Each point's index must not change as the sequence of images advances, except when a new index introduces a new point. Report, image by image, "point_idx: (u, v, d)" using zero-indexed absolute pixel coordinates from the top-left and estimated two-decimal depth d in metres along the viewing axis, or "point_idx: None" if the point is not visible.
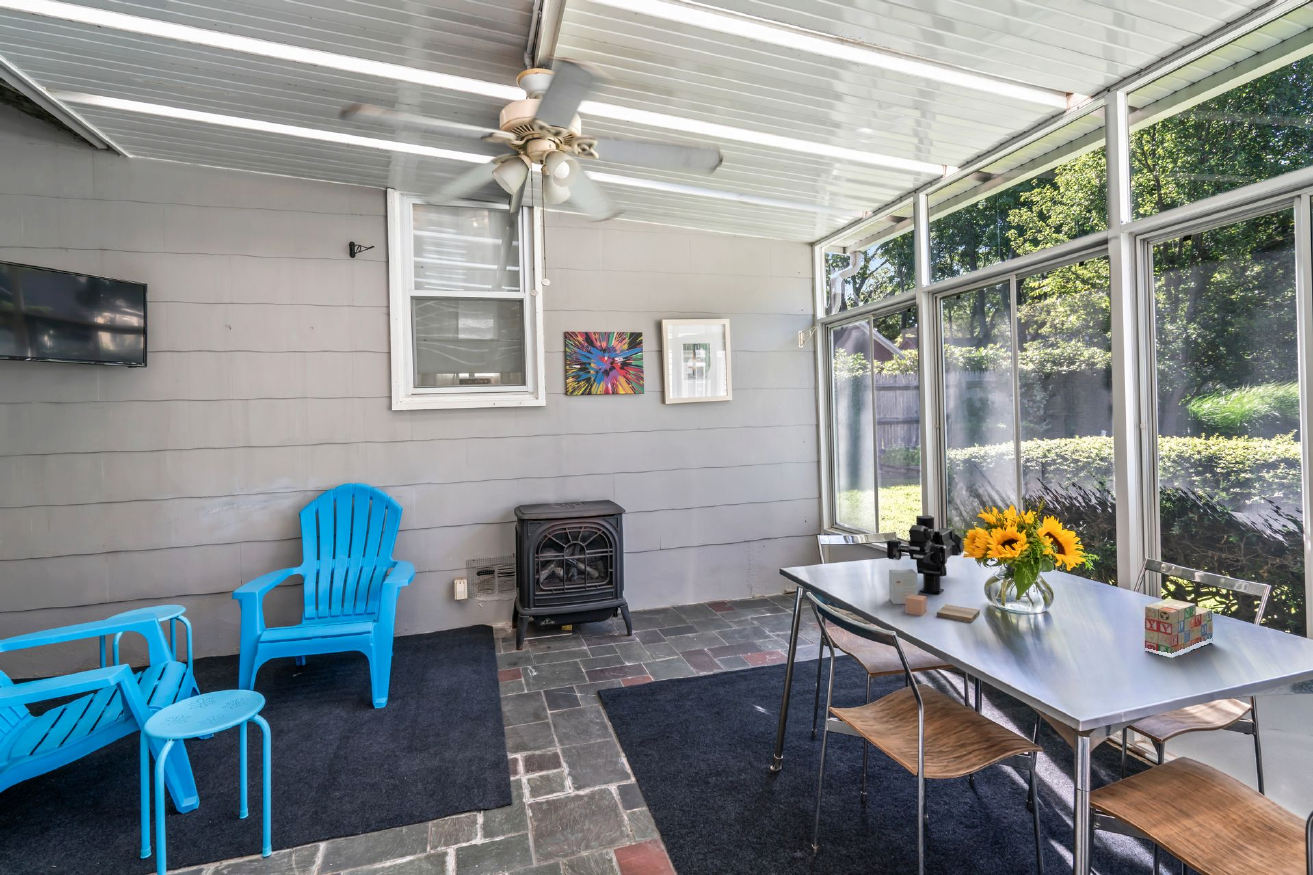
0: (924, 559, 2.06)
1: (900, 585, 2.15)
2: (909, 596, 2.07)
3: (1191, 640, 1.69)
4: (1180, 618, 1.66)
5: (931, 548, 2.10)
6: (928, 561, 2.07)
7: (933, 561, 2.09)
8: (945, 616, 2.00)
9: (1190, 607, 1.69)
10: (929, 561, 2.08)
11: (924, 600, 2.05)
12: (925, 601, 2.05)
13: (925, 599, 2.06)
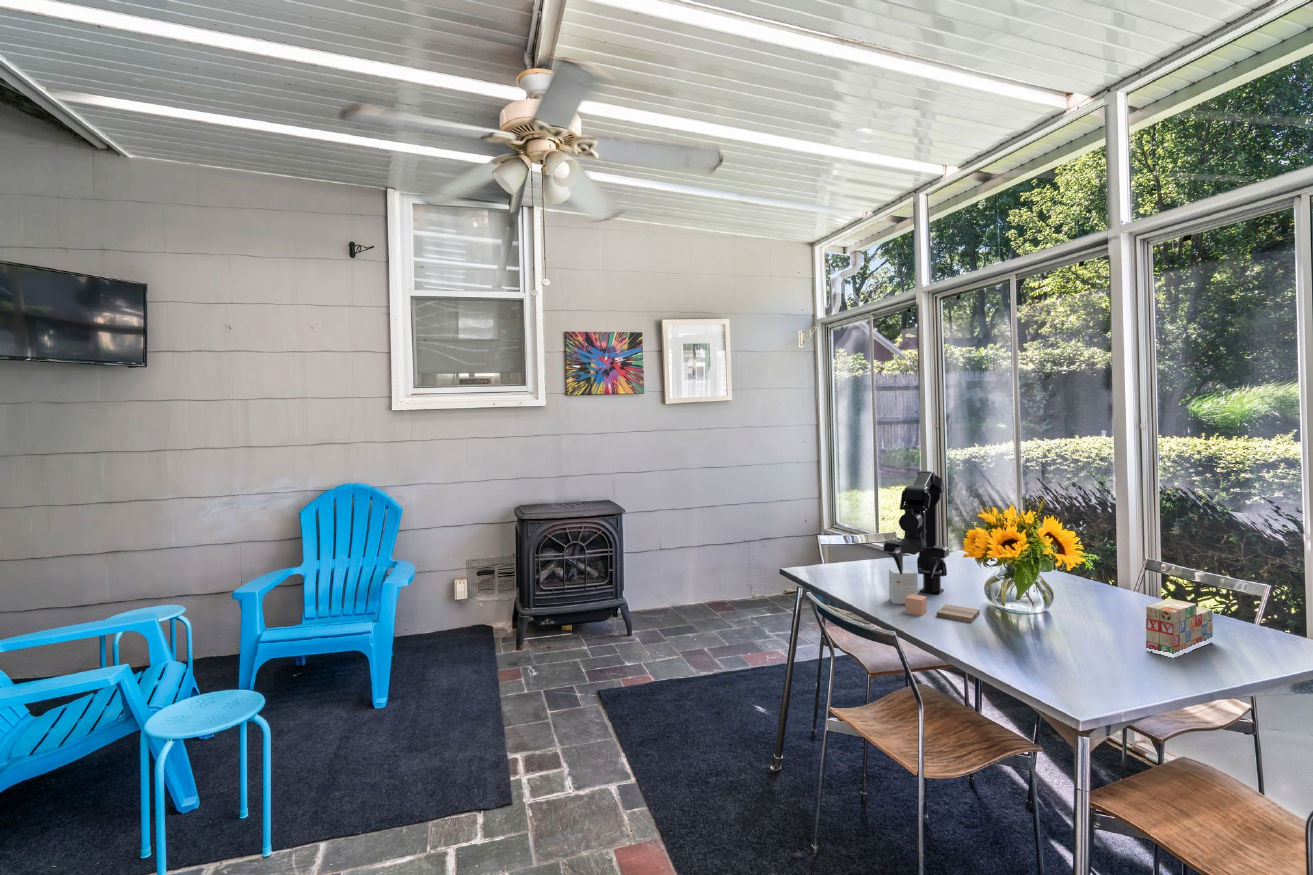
0: (932, 576, 2.03)
1: (900, 585, 2.15)
2: (909, 596, 2.07)
3: (1192, 640, 1.69)
4: (1181, 618, 1.66)
5: (931, 560, 2.00)
6: (935, 569, 2.03)
7: (938, 561, 2.03)
8: (945, 616, 2.00)
9: (1191, 607, 1.69)
10: (935, 567, 2.03)
11: (924, 600, 2.05)
12: (925, 601, 2.05)
13: (925, 599, 2.06)
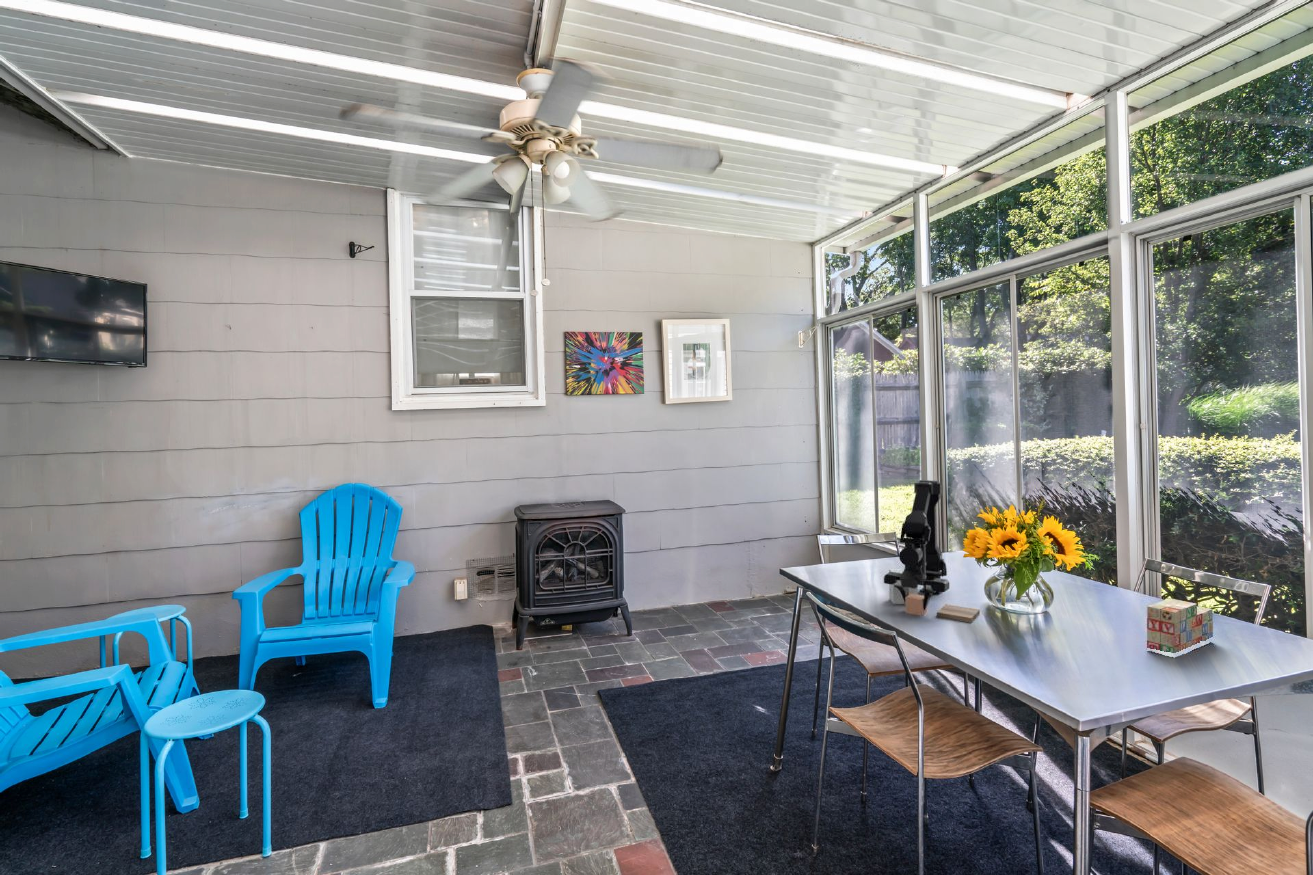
0: (925, 608, 2.04)
1: None
2: (909, 596, 2.07)
3: (1192, 640, 1.69)
4: (1182, 618, 1.66)
5: (925, 592, 2.02)
6: (928, 601, 2.05)
7: (931, 593, 2.04)
8: (945, 616, 2.00)
9: (1192, 607, 1.69)
10: (929, 599, 2.05)
11: None
12: None
13: None
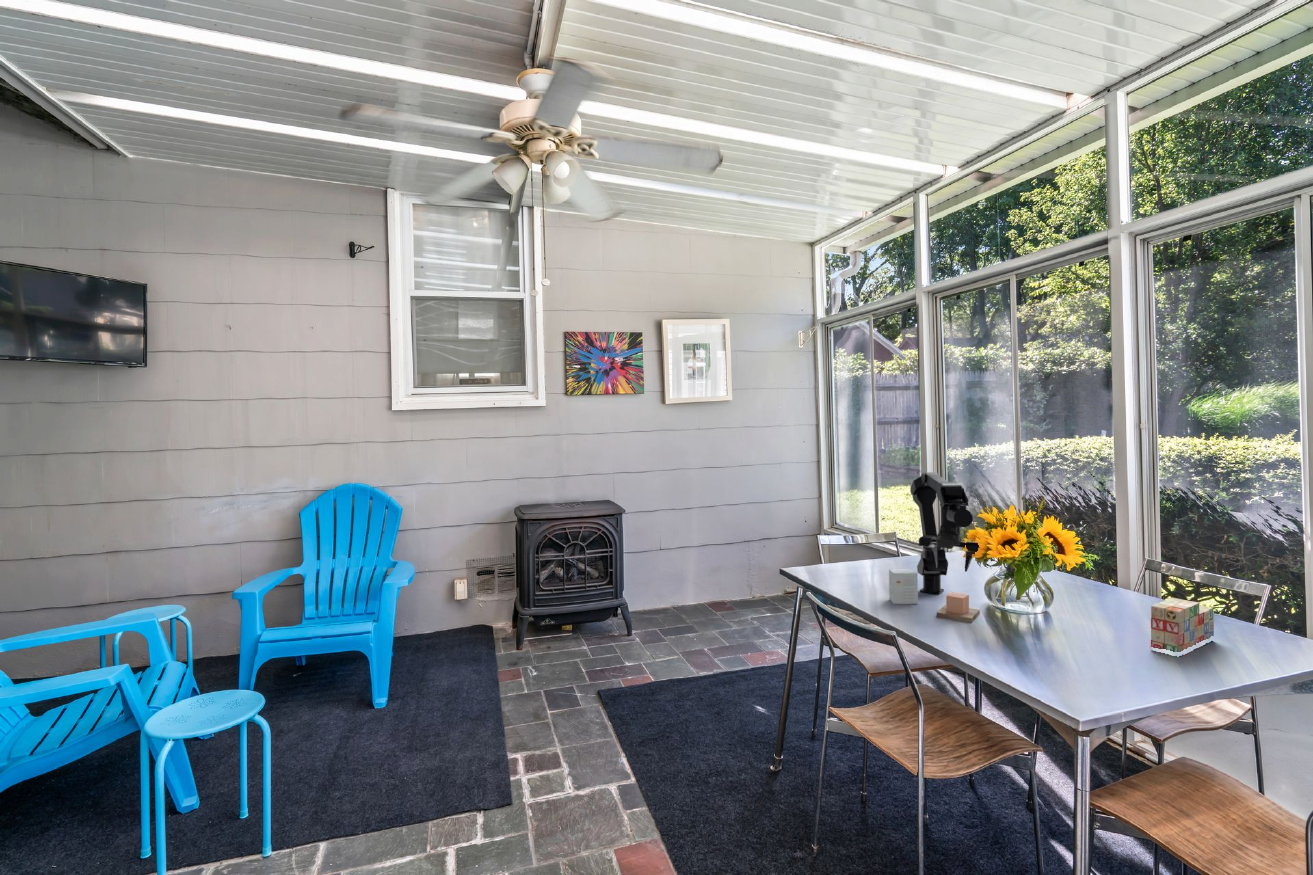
0: (967, 569, 2.08)
1: (900, 585, 2.15)
2: (950, 594, 2.03)
3: (1195, 639, 1.70)
4: (1186, 617, 1.67)
5: (967, 554, 2.06)
6: None
7: None
8: (945, 616, 2.00)
9: (1194, 606, 1.69)
10: (970, 561, 2.09)
11: (966, 598, 2.00)
12: (966, 599, 2.01)
13: (967, 597, 2.01)
